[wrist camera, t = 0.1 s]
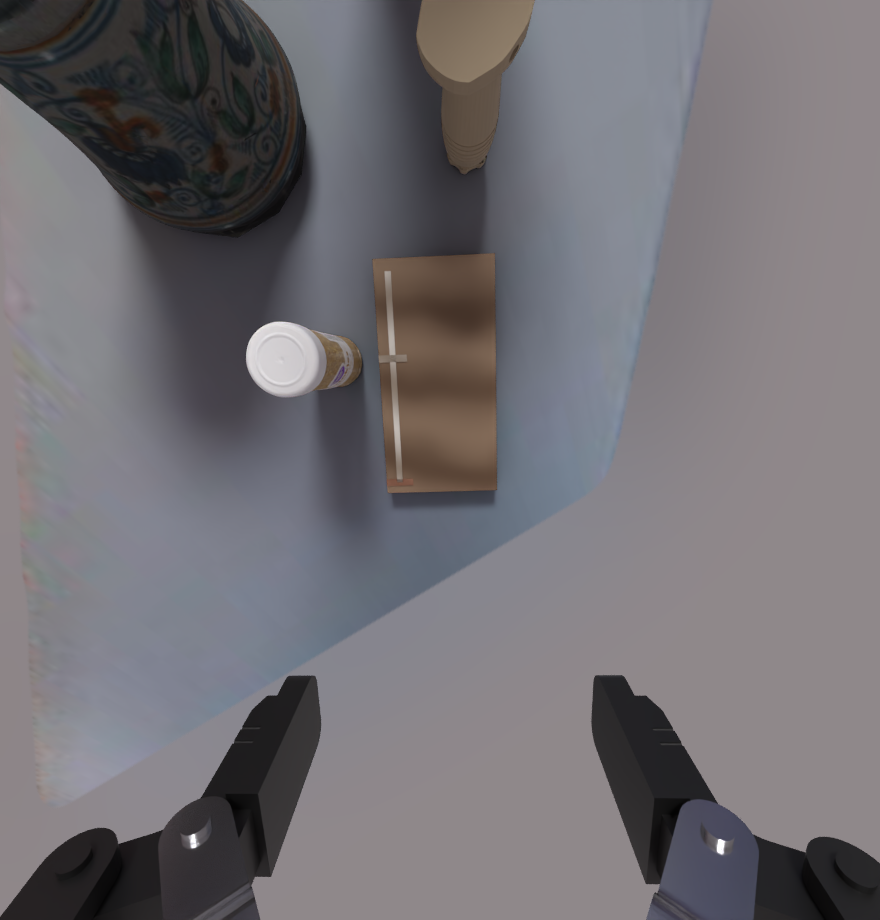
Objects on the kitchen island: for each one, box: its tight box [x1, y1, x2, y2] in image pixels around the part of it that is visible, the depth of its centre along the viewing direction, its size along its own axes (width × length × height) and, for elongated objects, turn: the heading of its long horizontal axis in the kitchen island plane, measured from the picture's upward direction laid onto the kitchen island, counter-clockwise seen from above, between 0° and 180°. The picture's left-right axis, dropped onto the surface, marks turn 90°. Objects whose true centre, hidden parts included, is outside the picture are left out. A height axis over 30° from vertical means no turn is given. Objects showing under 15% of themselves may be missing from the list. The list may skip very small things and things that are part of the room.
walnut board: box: [372, 253, 497, 493], centre depth 38 cm, size 20×10×2 cm, turn 2°
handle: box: [416, 0, 535, 174], centre depth 28 cm, size 5×6×15 cm
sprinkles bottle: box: [246, 322, 362, 397], centre depth 33 cm, size 5×5×14 cm
